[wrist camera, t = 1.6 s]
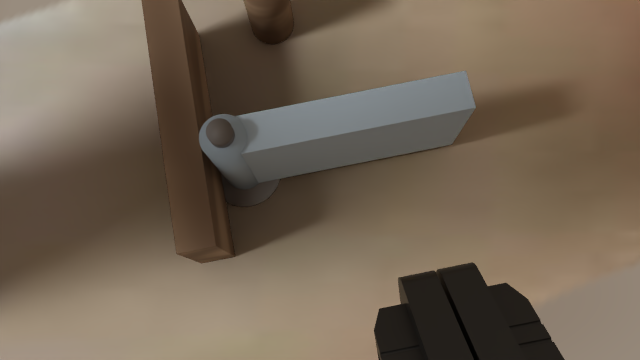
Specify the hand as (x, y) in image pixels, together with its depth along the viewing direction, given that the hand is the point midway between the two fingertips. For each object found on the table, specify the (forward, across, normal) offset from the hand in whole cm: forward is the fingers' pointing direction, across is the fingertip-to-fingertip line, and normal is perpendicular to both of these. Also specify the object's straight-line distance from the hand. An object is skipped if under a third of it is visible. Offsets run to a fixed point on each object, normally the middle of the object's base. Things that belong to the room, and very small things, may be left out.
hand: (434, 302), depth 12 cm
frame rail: (+27, +7, +9) cm, 29 cm away
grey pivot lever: (+25, 0, +10) cm, 27 cm away
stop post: (+33, +3, +3) cm, 33 cm away
